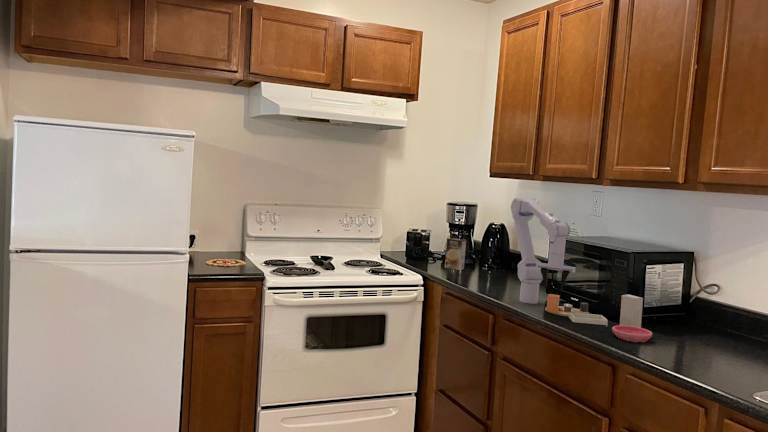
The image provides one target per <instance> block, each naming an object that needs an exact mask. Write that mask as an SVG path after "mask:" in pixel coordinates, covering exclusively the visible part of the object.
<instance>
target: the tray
mask: <svg viewBox="0 0 768 432" xmlns="http://www.w3.org/2000/svg"><path fill="white" fill-rule="evenodd" d="M567 317H568V318H569V319H570V321H571V322H572V323H579V324H589V325H600V326H606V328H608V324H609V323H608V322H609V320H608V319H607V318H606V317H605V316H603V315H602V314H594V313H593V314H592V313H590V314H583V313H572V312H569V315H568V316H567Z"/></svg>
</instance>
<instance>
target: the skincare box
mask: <svg viewBox="0 0 768 432" xmlns="http://www.w3.org/2000/svg"><path fill="white" fill-rule="evenodd" d="M643 302H644V297H640V296H638V295H637V296H636V295H632V294H623V295H621V301H620V316H619V325H625V326H634V327H639V328H642V317H643V306H644V305H643Z"/></svg>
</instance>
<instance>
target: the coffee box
mask: <svg viewBox="0 0 768 432" xmlns="http://www.w3.org/2000/svg"><path fill="white" fill-rule="evenodd" d="M466 248H467V240H466V239H461V238H454V237H449V238H446V246H445V249H446V250H445V261H444V268H445V269H449V270H454V271H455V270H456V271H462V270H464V269H465V260H466V259H465V258H466Z"/></svg>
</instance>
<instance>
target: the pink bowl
mask: <svg viewBox="0 0 768 432" xmlns="http://www.w3.org/2000/svg"><path fill="white" fill-rule="evenodd" d="M611 330H612V332H613V334H614V335H615V337H616V338H617V337H618V338H617V339H619V338H620V339H619V340H622V339H623V341H625V340H626V342H630V341H631V343H638V342H642V343H646V342H647V341H648V340H650V339H651V338H652V337H653V332H652V330H651V331H650V330H648V329H646V328H643V327H641V328H639V327H634V326H625V325H620V324H619V325H614V326H612V328H611Z"/></svg>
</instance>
